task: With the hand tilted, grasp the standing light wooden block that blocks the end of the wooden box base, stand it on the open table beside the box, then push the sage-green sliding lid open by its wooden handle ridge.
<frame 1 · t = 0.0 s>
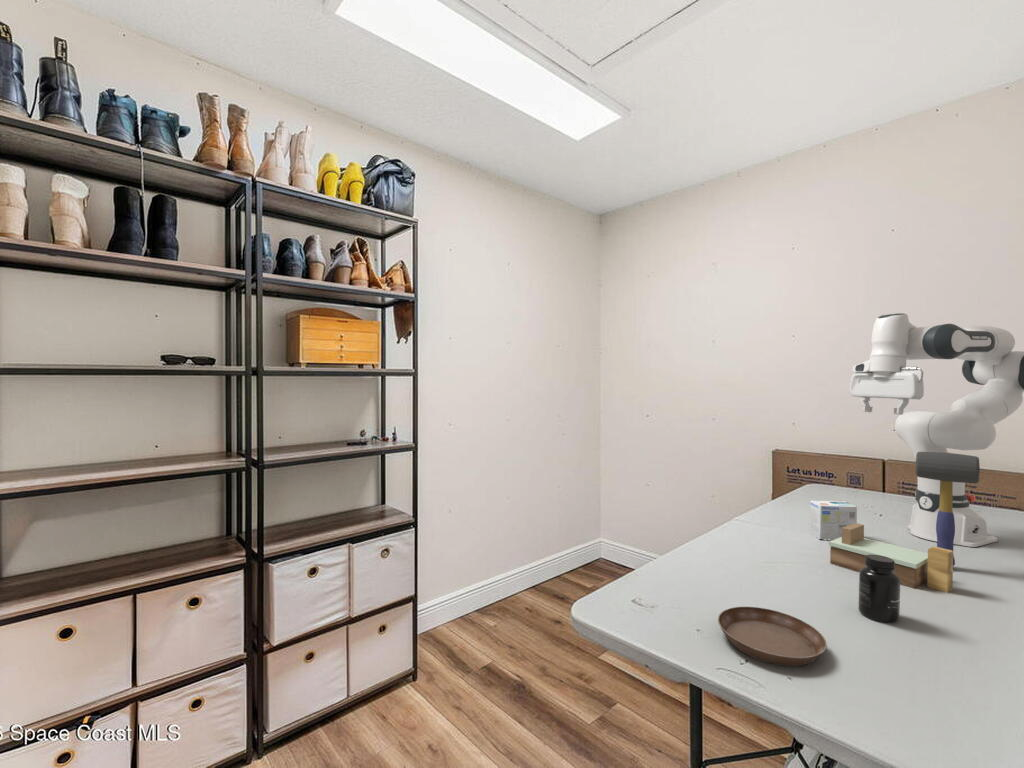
hand: (882, 413, 145), 39 cm above the table, tool pointing down, fingers open, 8 cm apart
wooden box base: (879, 570, 125), on the table
supplement bottle: (878, 616, 101), on the table
light wooden block: (939, 588, 114), on the table
plant saucer: (769, 645, 90), on the table
rubber mallet: (944, 568, 127), on the table
lid: (879, 542, 124), point 7 cm above the table, slide at 0.0 cm
light bulb box: (832, 538, 150), on the table
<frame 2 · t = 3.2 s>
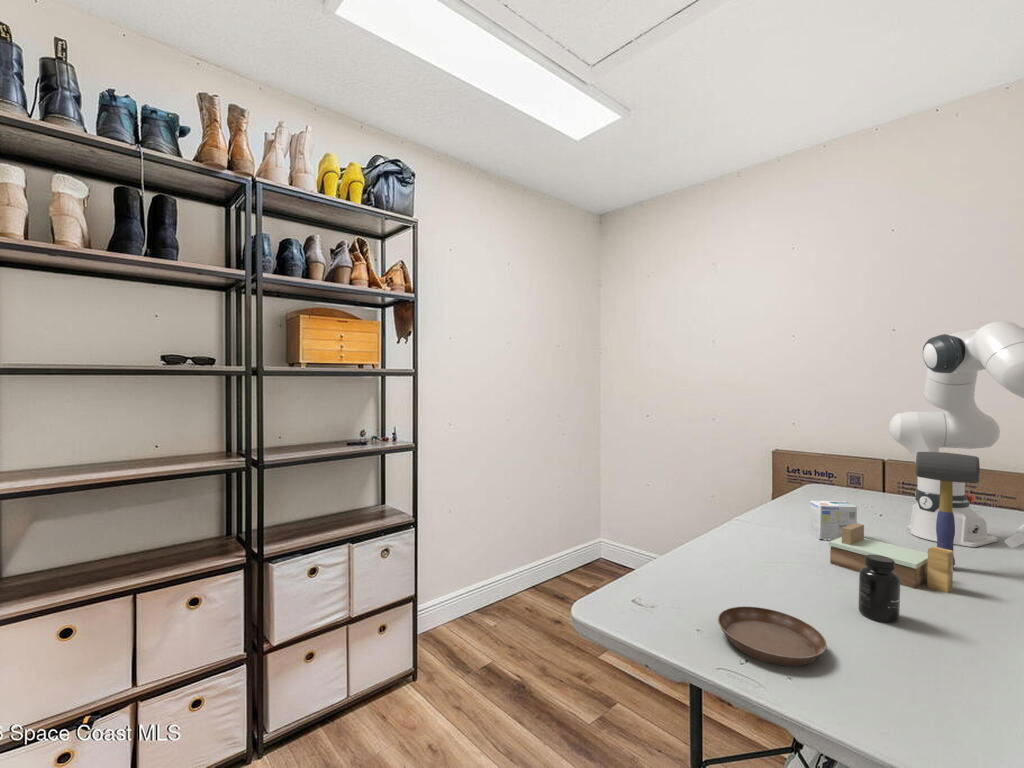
hand: (1014, 540, 104), 15 cm above the table, tool tilted 45°, fingers open, 8 cm apart
nothing on the table moved.
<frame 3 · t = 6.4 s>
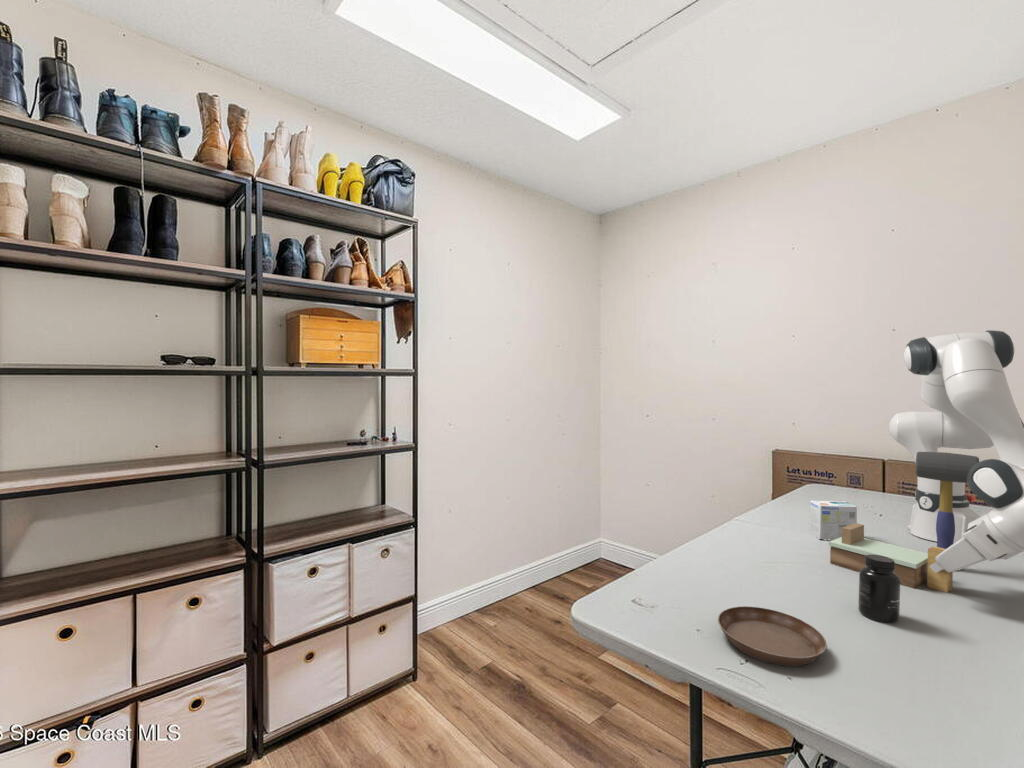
hand: (936, 566, 115), 5 cm above the table, tool tilted 45°, fingers closed on light wooden block, 4 cm apart
light wooden block: (939, 588, 114), on the table, touching gripper
everything else where it was.
when the fingers open (7 cm above the table, at t = 11.0 s): light wooden block drops 2 cm, on the table.
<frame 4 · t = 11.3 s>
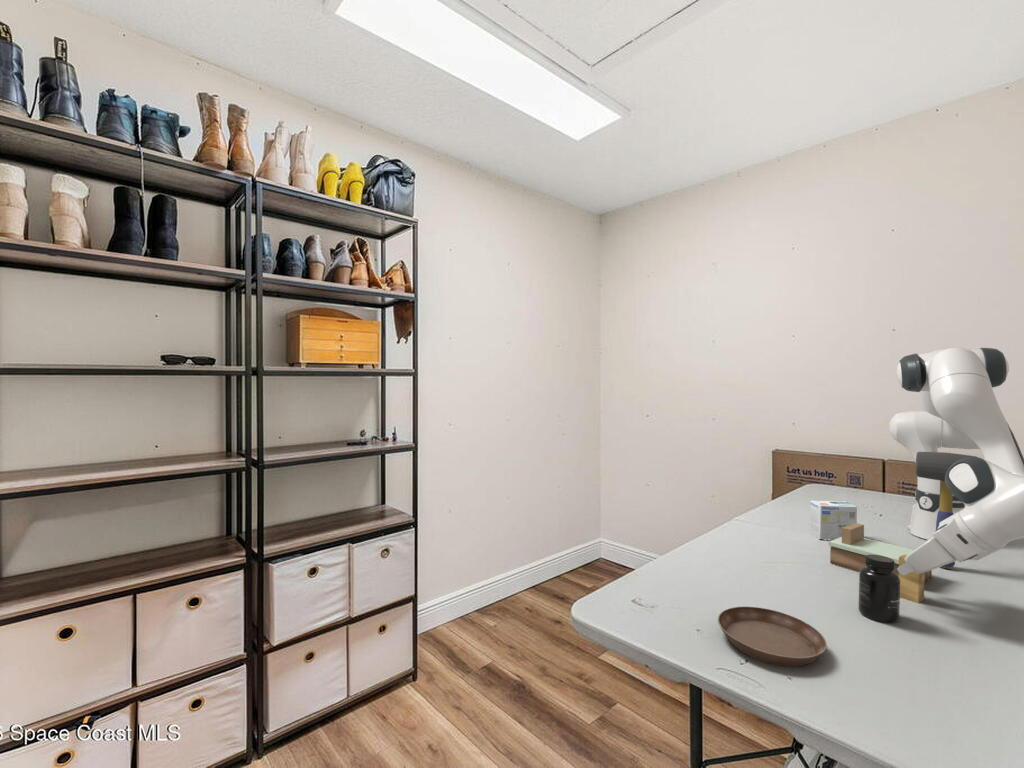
hand: (907, 567, 110), 7 cm above the table, tool tilted 45°, fingers open, 7 cm apart
light wooden block: (910, 597, 109), on the table
everything else where it was.
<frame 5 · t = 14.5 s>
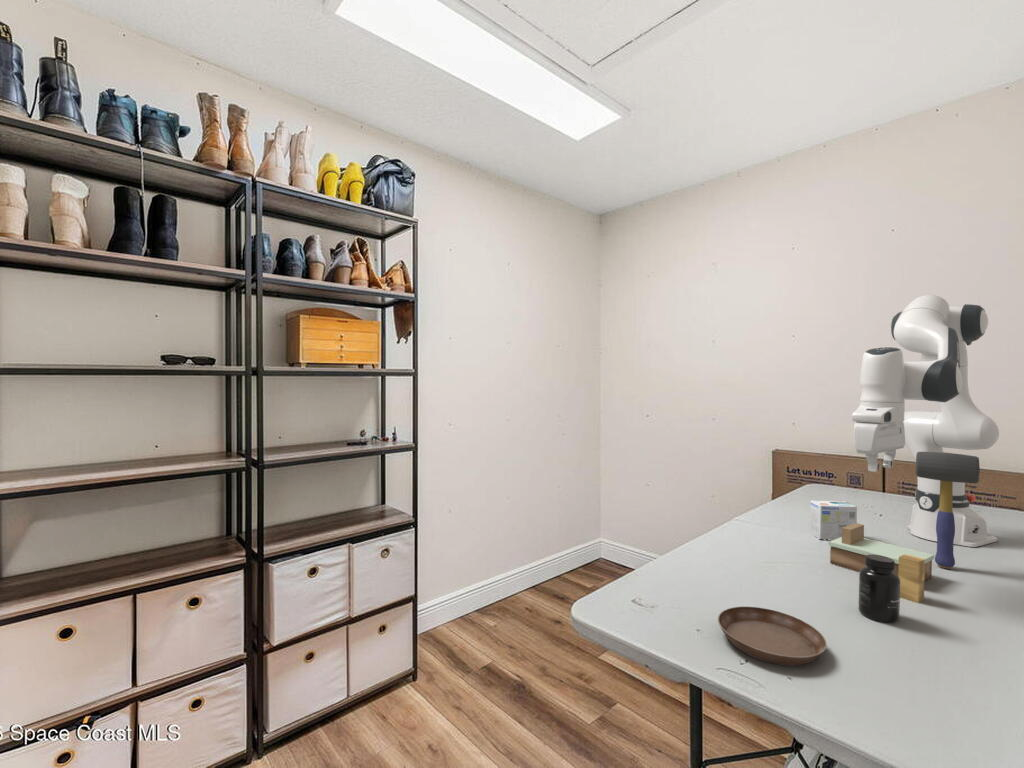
hand: (880, 469, 120), 27 cm above the table, tool pointing down, fingers open, 7 cm apart
nothing on the table moved.
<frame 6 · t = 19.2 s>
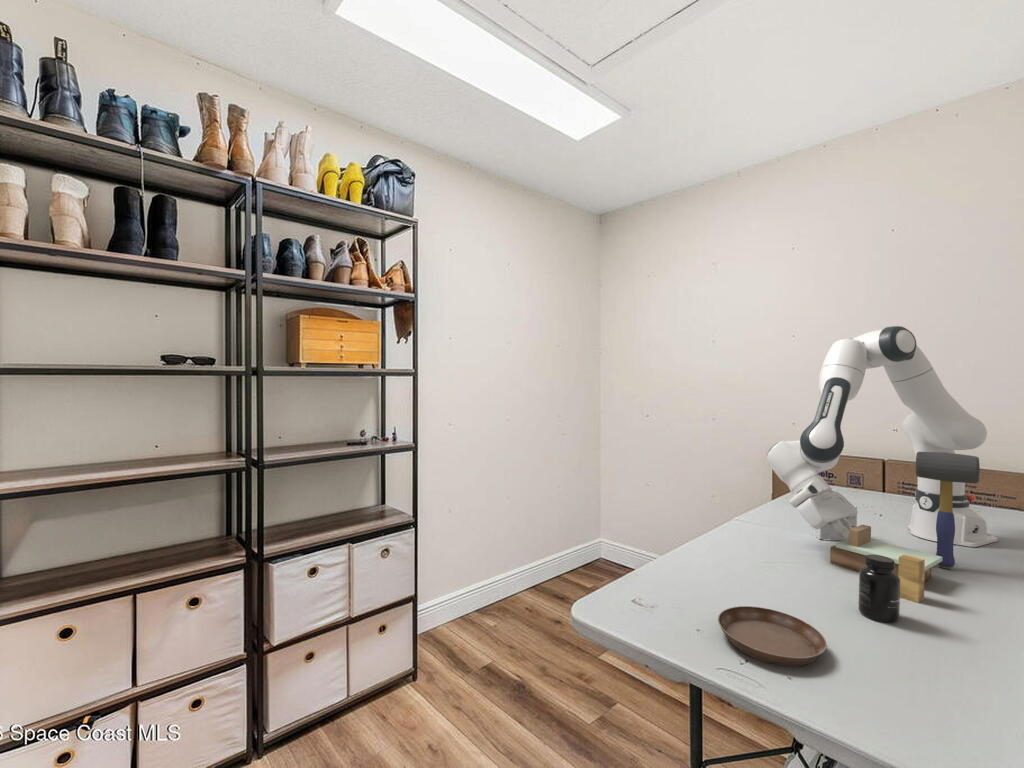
hand: (851, 536, 129), 7 cm above the table, tool tilted 45°, fingers closed, pressing on lid
lid: (887, 544, 123), point 7 cm above the table, slide at 1.6 cm, touching gripper
everything else where it was.
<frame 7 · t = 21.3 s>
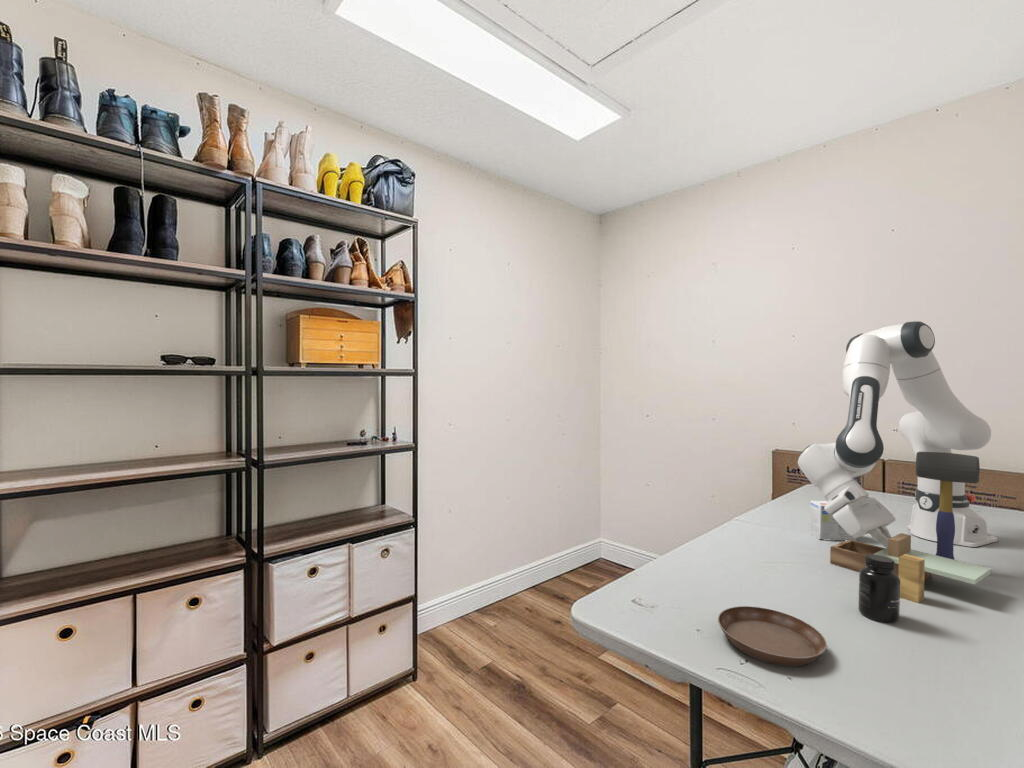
hand: (891, 545, 122), 7 cm above the table, tool tilted 45°, fingers closed, pressing on lid
lid: (930, 554, 116), point 7 cm above the table, slide at 10.2 cm, touching gripper
everything else where it was.
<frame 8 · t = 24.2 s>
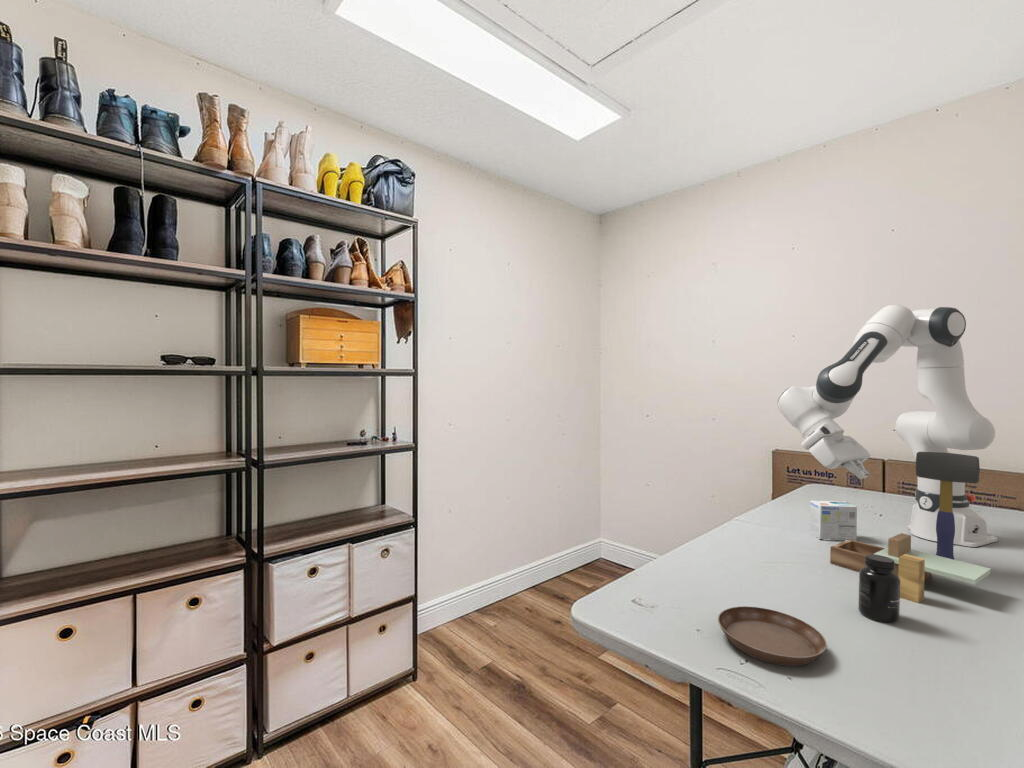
hand: (865, 477, 127), 23 cm above the table, tool tilted 45°, fingers closed
lid: (930, 554, 116), point 7 cm above the table, slide at 10.2 cm
everything else where it was.
at the end: light wooden block inside the target area (1.6 cm from its centre), on the table; lid slide at 10.2 cm; the gripper is holding nothing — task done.
